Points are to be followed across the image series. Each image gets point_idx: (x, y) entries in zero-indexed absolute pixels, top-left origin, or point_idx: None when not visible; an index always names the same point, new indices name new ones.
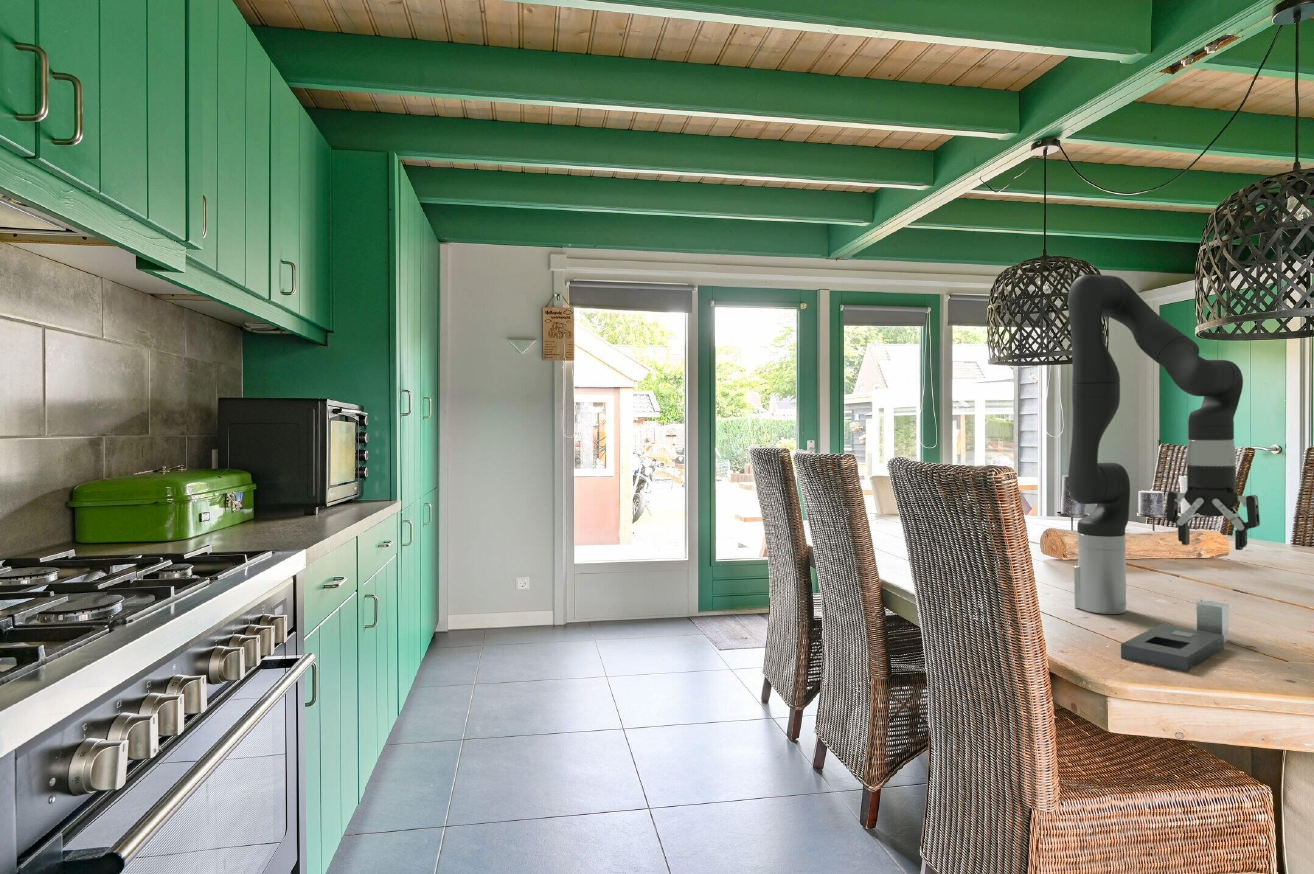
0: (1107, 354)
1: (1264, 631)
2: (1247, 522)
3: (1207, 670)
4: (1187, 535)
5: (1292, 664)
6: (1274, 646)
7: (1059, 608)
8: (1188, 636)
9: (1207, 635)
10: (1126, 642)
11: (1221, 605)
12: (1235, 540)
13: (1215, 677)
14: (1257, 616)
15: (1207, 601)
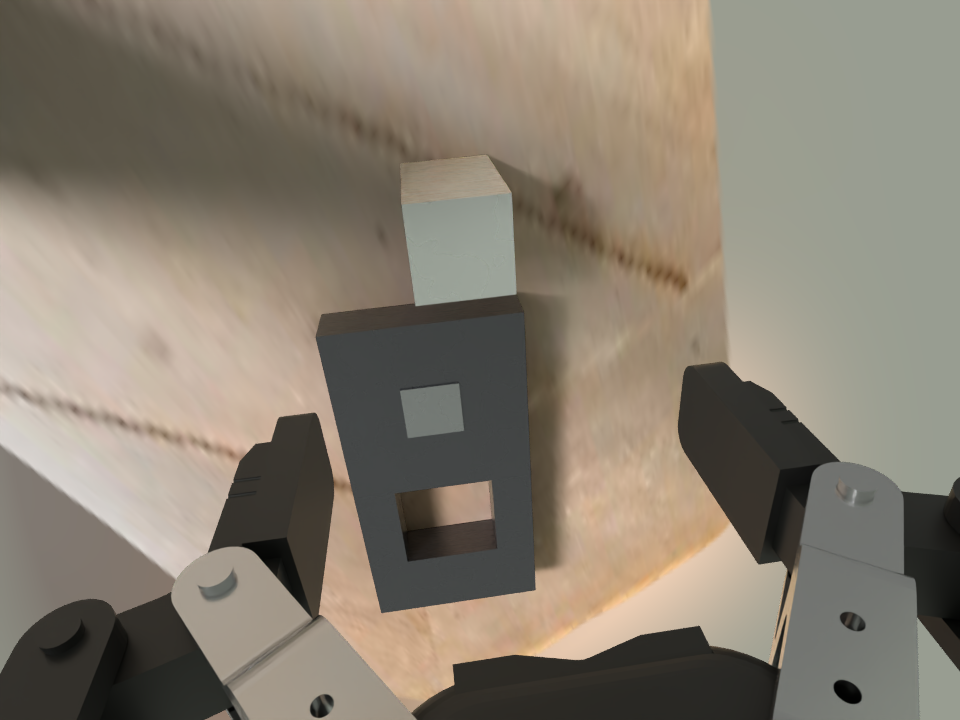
0: None
1: None
2: (926, 611)
3: (555, 518)
4: (317, 509)
5: (700, 306)
6: (627, 112)
7: None
8: (459, 426)
9: (490, 362)
10: (381, 593)
11: (500, 253)
12: (712, 490)
13: (583, 547)
14: None
15: (424, 215)
